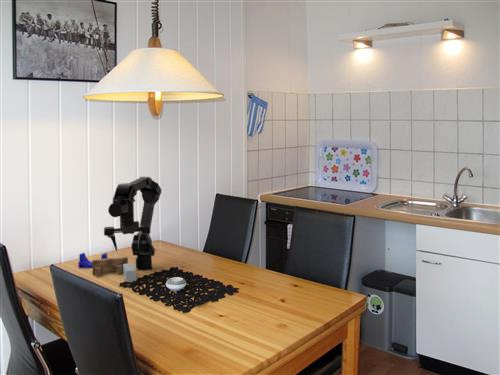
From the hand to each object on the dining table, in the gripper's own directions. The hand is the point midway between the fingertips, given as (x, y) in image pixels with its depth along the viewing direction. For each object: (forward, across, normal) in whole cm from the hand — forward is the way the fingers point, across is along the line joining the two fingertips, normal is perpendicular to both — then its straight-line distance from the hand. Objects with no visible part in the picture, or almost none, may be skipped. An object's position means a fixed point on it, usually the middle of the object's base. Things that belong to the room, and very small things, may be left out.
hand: (127, 250), depth 217 cm
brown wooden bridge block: (+12, -7, +10) cm, 17 cm away
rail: (+12, +1, 0) cm, 12 cm away
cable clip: (+12, -14, +24) cm, 30 cm away
